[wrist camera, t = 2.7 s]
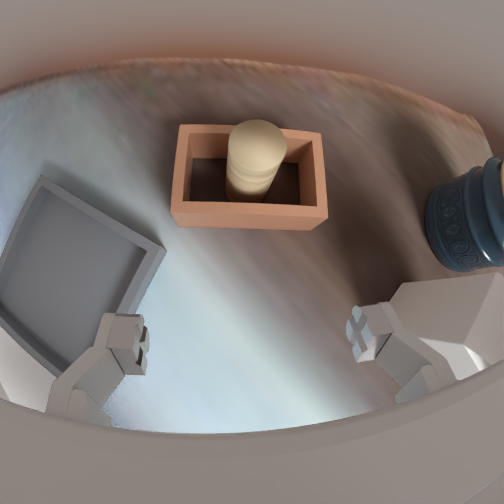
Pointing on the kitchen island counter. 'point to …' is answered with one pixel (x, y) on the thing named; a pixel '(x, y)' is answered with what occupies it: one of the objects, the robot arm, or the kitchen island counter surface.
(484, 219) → the canister
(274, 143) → the birch peg
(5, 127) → the kitchen island counter surface
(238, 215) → the terracotta planter box
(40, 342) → the charcoal tray
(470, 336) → the milk carton
